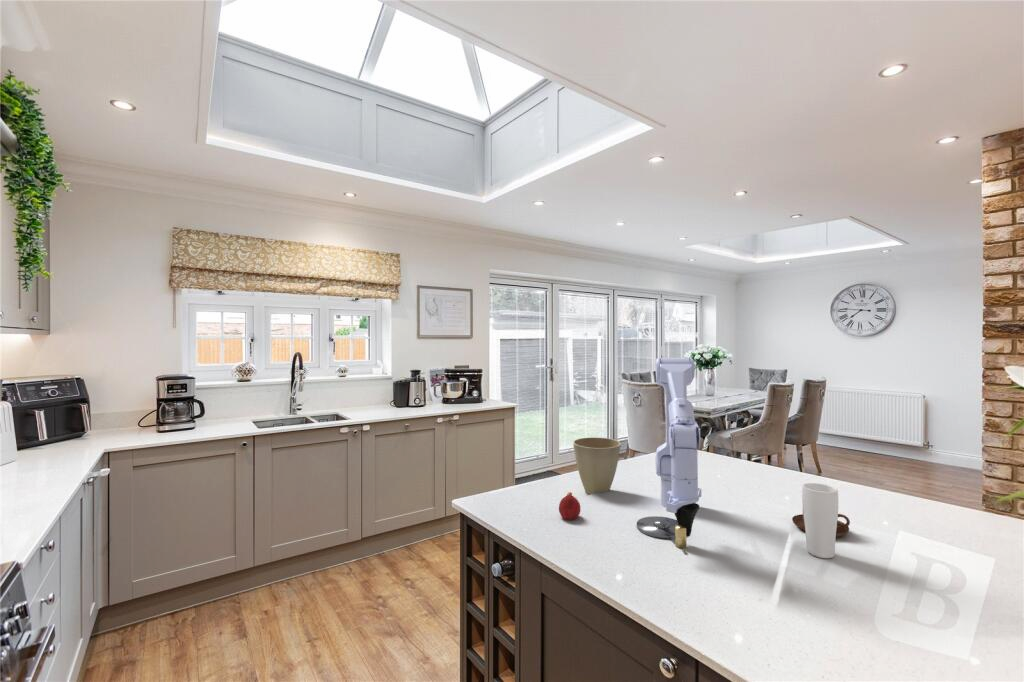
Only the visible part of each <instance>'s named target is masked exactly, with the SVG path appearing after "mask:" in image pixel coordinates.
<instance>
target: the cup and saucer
mask: <svg viewBox="0 0 1024 682" xmlns="http://www.w3.org/2000/svg"><path fill="white" fill-rule="evenodd" d="M838 518H843V519H845V521H846V523H844V522H842V521H841V520H838V519H837V529H836V537H841V536H844V535H847V534H848V533H849V531H850V527H849V526H850V525H851V524H850V523H851V521H850V519H849V517H848V516H847V515H845V514H841V513H838ZM791 520H792V524H794V525H795V526H796V527H797V528H798V529H800V530H802V531H805V522H804V513H803V512H802V514H796V515H793V516H792V519H791Z"/></svg>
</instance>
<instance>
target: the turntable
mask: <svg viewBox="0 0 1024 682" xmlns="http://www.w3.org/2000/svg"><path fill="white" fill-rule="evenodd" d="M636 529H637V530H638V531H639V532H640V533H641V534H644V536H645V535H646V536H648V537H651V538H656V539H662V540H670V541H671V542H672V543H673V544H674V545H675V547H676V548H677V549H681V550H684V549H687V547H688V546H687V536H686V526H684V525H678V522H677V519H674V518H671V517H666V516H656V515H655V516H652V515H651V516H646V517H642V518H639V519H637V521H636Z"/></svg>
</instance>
